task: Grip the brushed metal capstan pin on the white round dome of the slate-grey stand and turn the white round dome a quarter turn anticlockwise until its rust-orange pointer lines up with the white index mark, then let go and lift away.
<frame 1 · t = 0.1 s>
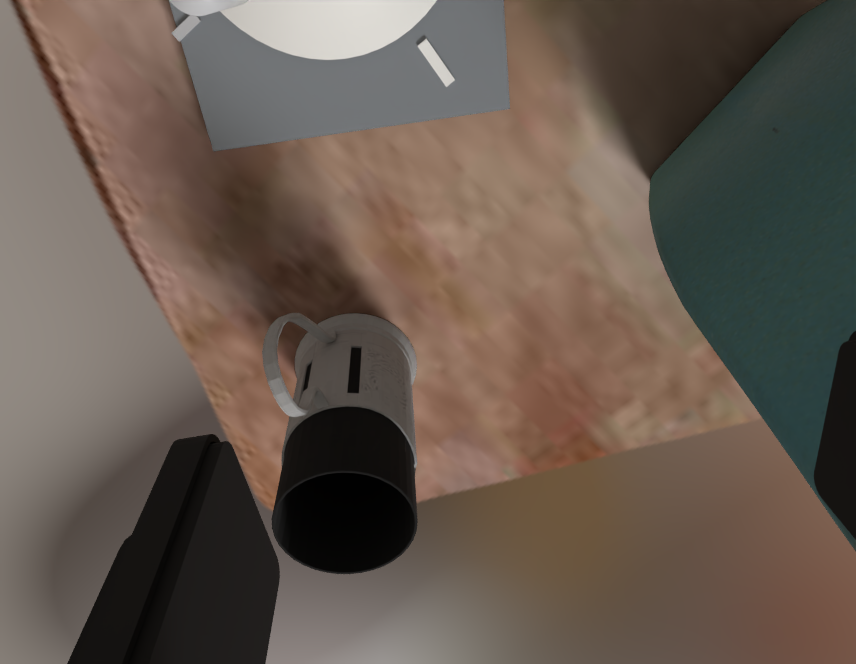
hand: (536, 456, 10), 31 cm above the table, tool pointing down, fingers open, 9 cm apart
flower pot: (784, 161, 40), on the table
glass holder: (341, 334, 45), on the table
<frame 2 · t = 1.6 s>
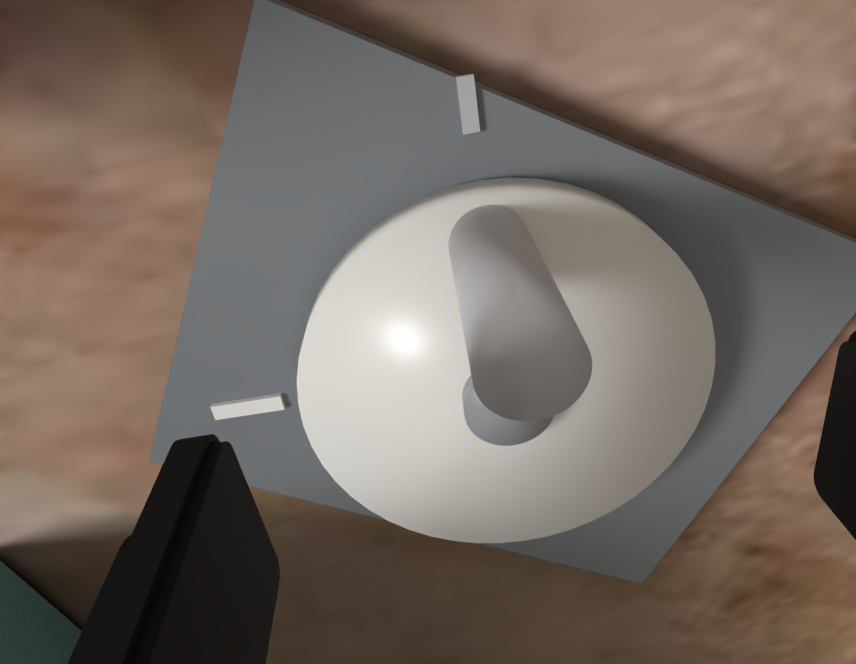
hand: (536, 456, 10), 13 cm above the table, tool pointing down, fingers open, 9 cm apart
white round dome: (519, 448, 19), point 6 cm above the table, hinge at -60.0°
stand: (493, 346, 24), on the table
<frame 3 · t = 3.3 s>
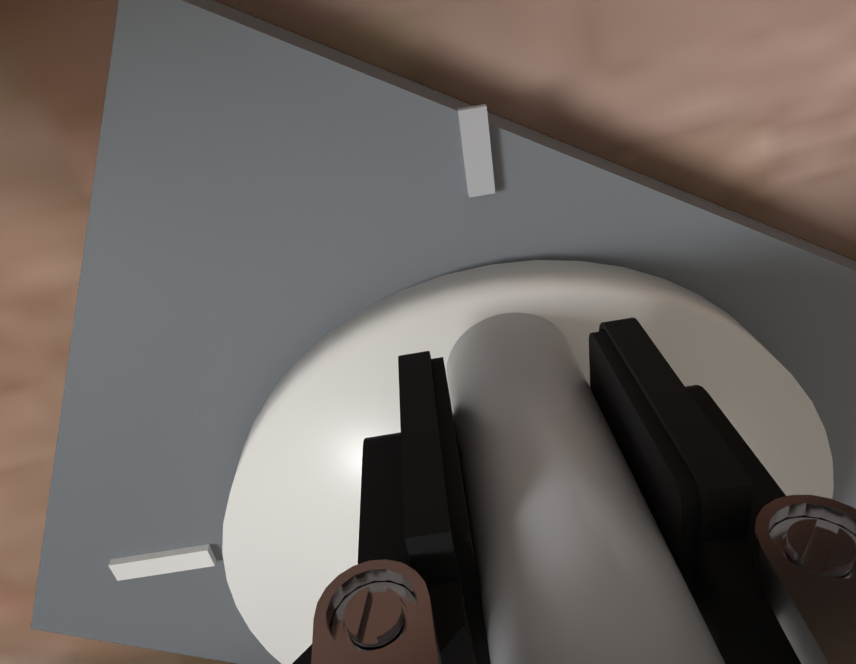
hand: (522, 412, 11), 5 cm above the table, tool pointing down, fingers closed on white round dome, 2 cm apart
stand: (506, 465, 18), on the table
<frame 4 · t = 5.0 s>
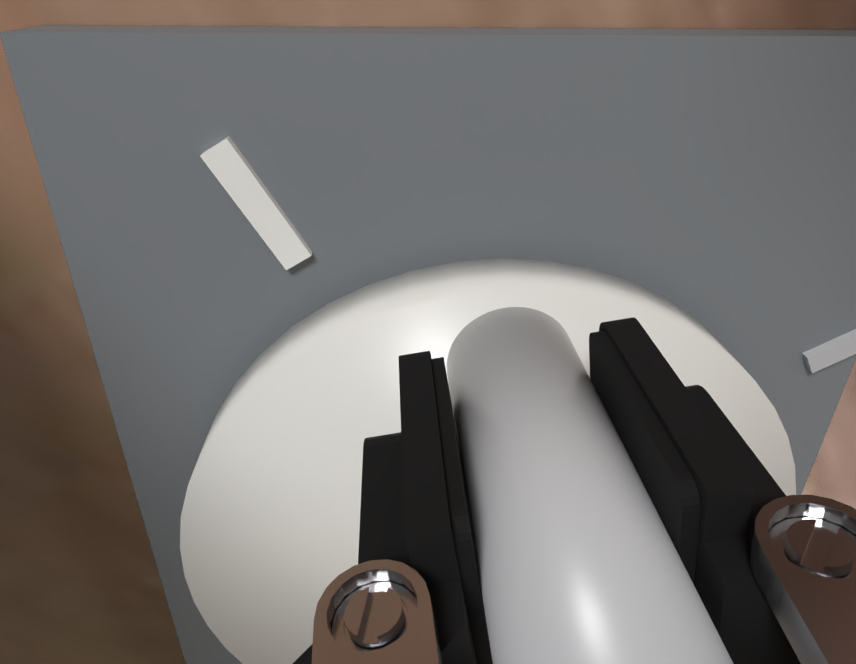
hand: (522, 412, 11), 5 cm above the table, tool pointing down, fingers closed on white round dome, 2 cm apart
stand: (474, 466, 18), on the table
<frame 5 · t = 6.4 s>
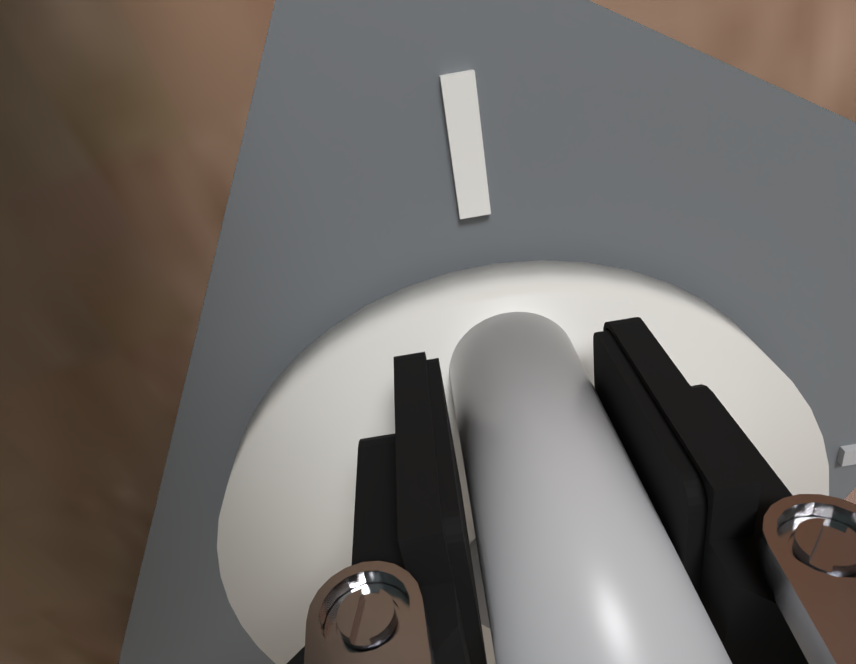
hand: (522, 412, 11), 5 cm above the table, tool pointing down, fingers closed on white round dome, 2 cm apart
stand: (502, 466, 18), on the table
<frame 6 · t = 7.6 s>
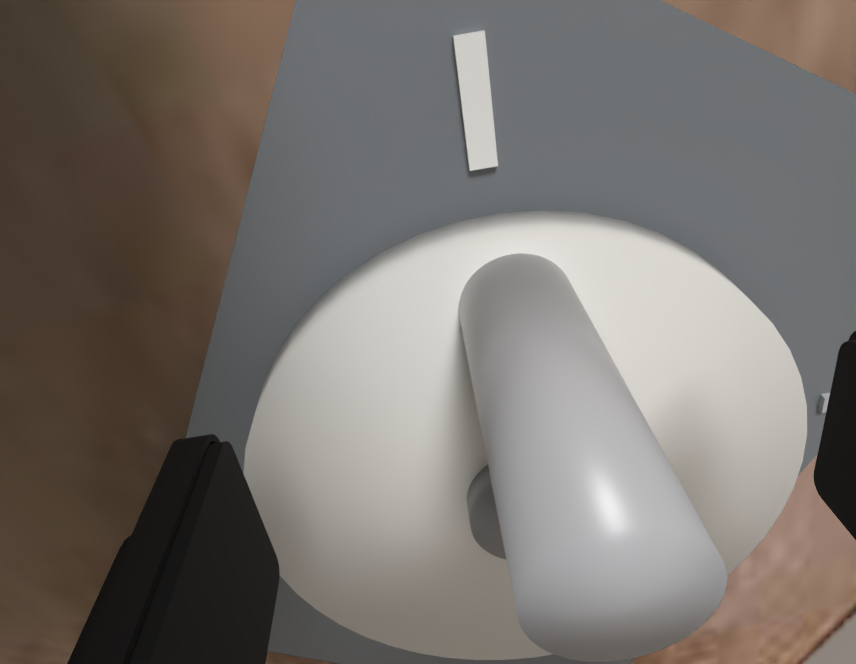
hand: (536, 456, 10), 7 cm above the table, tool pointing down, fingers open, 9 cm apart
white round dome: (549, 588, 14), point 6 cm above the table, hinge at 28.0°
stand: (505, 414, 19), on the table
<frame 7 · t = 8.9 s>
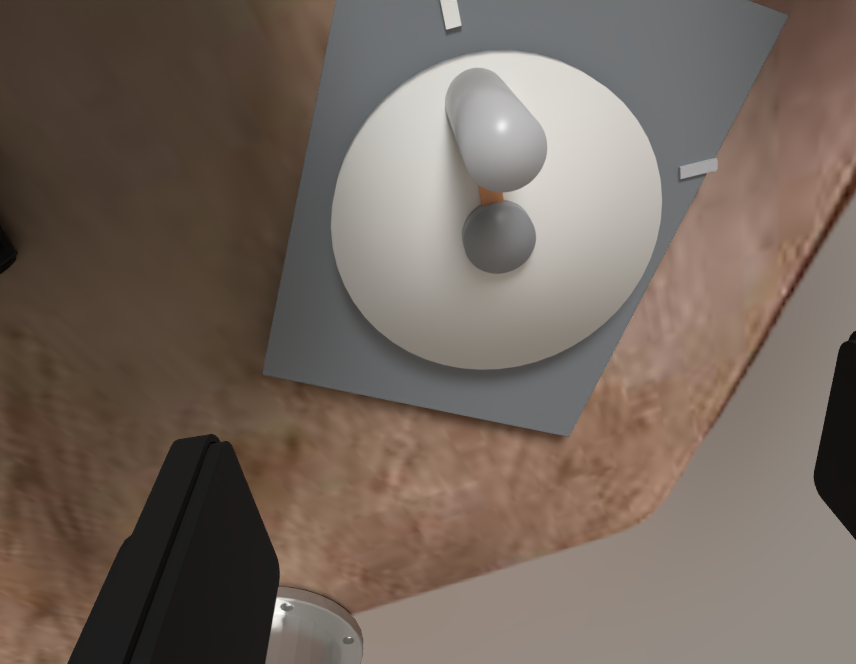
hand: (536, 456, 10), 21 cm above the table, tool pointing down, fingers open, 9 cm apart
white round dome: (507, 260, 25), point 6 cm above the table, hinge at 28.0°
stand: (486, 206, 30), on the table
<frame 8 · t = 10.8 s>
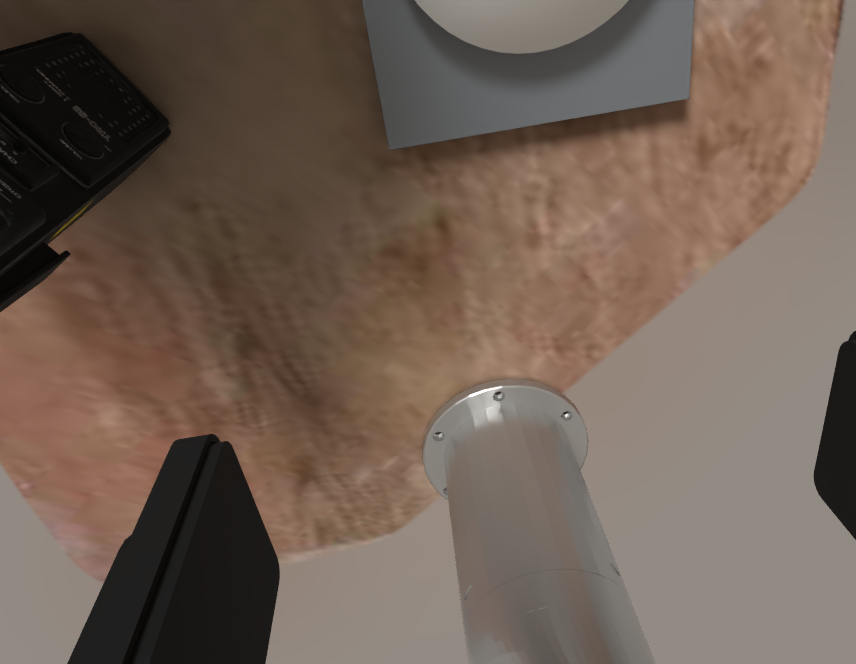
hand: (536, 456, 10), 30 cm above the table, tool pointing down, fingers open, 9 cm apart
portable radio: (105, 118, 36), on the table
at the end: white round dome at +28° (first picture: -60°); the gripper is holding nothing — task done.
